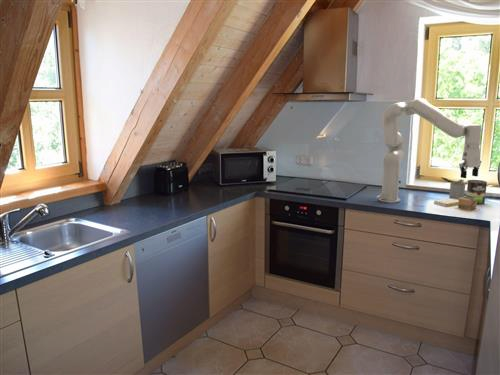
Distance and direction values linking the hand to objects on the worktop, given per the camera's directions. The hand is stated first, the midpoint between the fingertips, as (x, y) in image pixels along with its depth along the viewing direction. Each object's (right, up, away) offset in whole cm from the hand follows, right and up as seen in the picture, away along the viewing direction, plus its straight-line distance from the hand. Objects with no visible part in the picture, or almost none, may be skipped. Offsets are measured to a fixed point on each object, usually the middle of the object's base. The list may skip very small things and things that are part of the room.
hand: (469, 176), depth 241 cm
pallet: (0, -19, +2) cm, 19 cm away
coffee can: (+12, -16, +16) cm, 26 cm away
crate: (0, -18, +2) cm, 18 cm away
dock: (-6, -17, +13) cm, 22 cm away
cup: (+7, -14, +29) cm, 33 cm away
